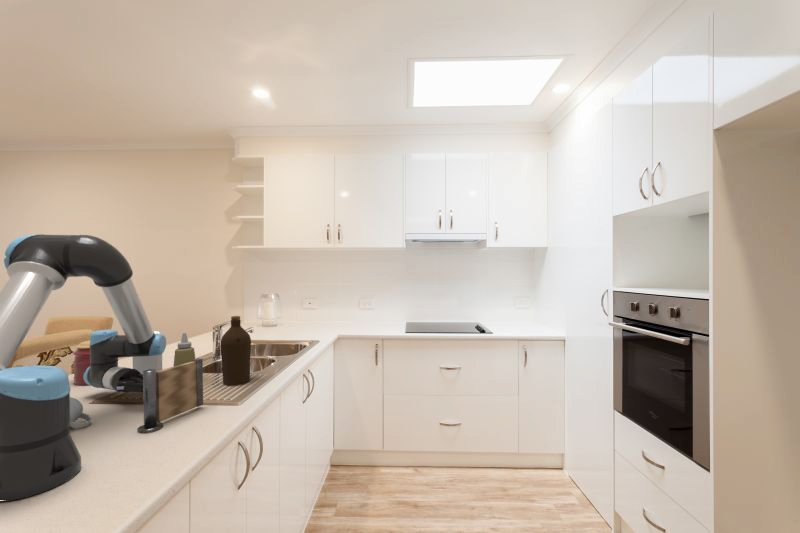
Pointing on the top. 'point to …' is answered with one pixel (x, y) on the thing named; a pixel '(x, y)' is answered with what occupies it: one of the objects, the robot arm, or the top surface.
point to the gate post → (150, 403)
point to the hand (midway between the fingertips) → (172, 387)
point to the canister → (81, 362)
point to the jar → (148, 362)
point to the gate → (179, 389)
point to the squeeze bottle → (184, 352)
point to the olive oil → (236, 354)
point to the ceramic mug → (78, 414)
